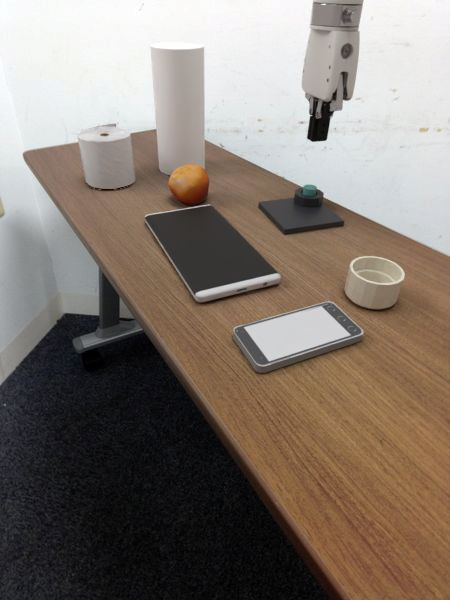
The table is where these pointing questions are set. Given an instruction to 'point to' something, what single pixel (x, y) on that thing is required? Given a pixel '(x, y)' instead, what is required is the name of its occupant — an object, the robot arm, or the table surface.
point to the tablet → (210, 253)
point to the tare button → (309, 190)
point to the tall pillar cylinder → (179, 104)
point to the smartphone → (296, 336)
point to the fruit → (189, 184)
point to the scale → (300, 213)
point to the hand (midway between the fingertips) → (316, 139)
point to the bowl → (374, 282)
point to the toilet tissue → (107, 156)
